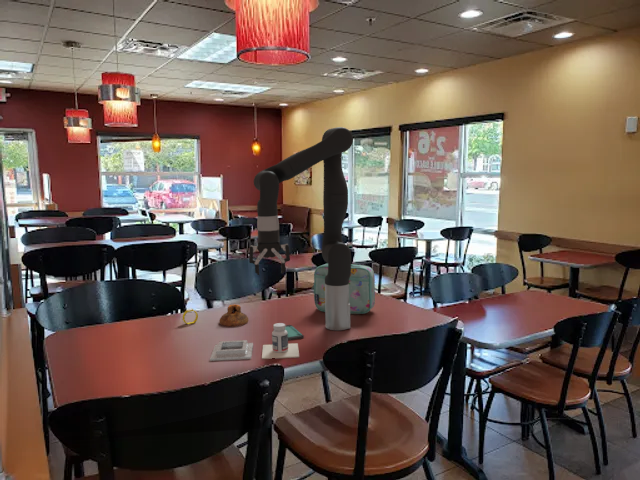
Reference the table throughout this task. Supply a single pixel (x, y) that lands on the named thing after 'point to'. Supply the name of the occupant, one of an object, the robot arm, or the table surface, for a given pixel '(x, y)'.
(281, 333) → the pill bottle
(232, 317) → the bell
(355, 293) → the lunch box
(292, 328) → the smartphone
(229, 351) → the square frame
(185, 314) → the yellow ring
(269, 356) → the mat
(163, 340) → the table surface
